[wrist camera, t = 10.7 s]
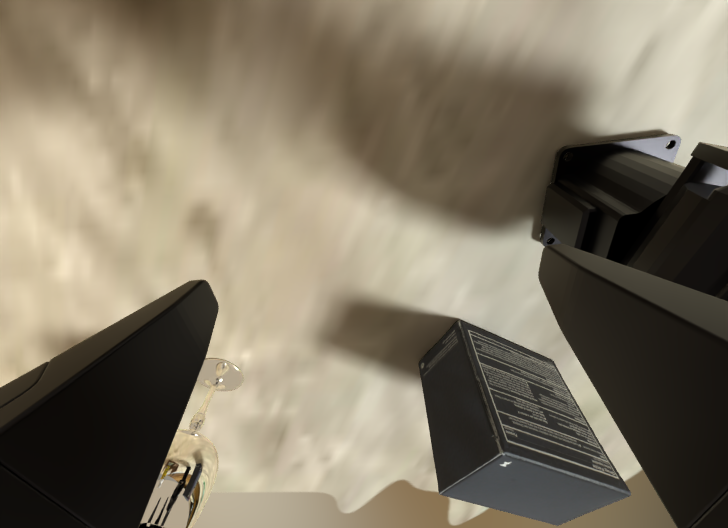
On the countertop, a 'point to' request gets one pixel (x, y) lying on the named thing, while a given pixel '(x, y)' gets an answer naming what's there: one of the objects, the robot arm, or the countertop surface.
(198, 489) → the wineglass
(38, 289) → the countertop surface
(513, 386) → the small box
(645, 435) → the robot arm
